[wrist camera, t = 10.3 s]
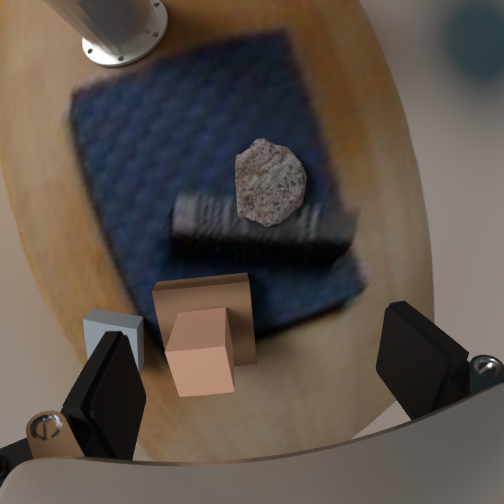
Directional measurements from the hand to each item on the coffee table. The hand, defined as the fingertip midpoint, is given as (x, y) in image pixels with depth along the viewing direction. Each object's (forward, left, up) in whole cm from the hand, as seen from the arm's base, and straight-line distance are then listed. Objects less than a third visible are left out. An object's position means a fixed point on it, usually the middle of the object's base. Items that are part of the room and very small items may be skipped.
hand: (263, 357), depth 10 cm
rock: (-5, +4, -29) cm, 30 cm away
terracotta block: (+12, -5, -25) cm, 28 cm away
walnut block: (+12, -5, -29) cm, 32 cm away
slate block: (+14, -19, -29) cm, 37 cm away
